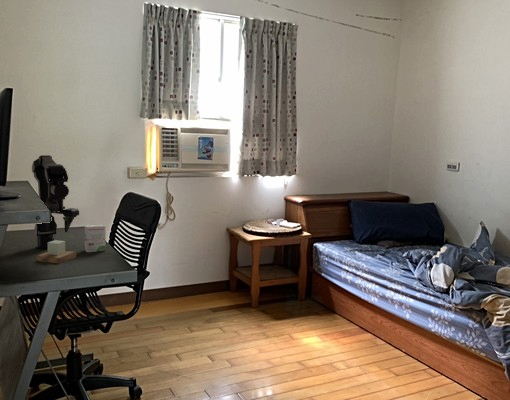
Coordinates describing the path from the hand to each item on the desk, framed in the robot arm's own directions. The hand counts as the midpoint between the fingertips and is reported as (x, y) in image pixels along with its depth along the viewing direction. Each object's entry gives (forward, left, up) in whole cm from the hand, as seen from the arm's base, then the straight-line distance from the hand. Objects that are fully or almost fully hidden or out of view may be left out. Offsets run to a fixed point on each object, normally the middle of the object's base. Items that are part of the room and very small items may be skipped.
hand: (56, 231), depth 208 cm
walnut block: (0, 0, -12) cm, 13 cm away
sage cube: (0, 0, -10) cm, 10 cm away
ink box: (+7, +18, -12) cm, 23 cm away
